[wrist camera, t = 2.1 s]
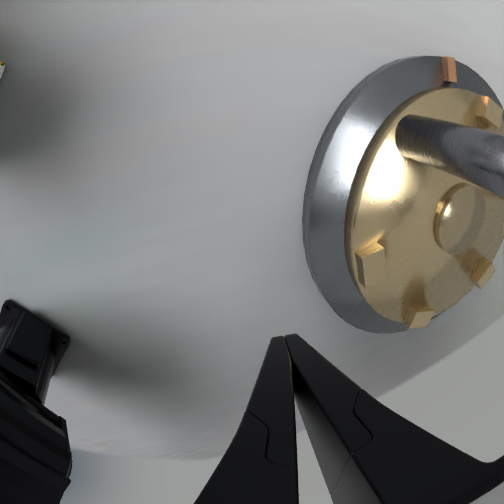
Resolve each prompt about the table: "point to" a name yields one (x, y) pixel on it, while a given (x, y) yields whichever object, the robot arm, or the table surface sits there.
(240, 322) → the table surface
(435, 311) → the gold wheel with handle
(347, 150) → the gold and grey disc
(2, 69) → the medicine bottle
